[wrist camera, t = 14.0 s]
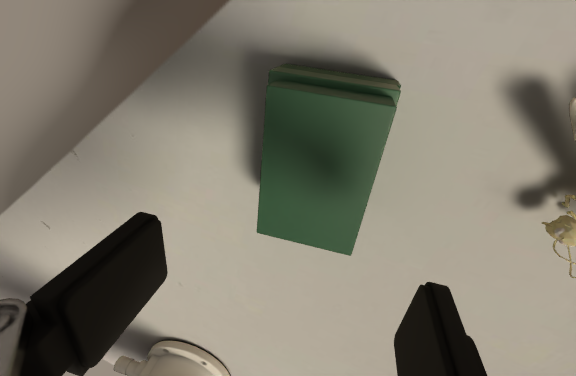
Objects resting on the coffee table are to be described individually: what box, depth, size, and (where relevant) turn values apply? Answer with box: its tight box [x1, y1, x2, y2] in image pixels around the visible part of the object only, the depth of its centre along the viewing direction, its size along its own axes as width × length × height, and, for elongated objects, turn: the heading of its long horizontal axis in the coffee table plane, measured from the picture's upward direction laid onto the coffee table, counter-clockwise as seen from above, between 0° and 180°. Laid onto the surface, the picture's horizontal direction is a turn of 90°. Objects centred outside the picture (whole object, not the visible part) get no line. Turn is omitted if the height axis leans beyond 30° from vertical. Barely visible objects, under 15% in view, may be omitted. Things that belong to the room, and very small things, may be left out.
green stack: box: [268, 64, 401, 106], centre depth 18 cm, size 7×10×4 cm
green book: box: [257, 79, 397, 256], centre depth 16 cm, size 6×9×2 cm, turn 174°
